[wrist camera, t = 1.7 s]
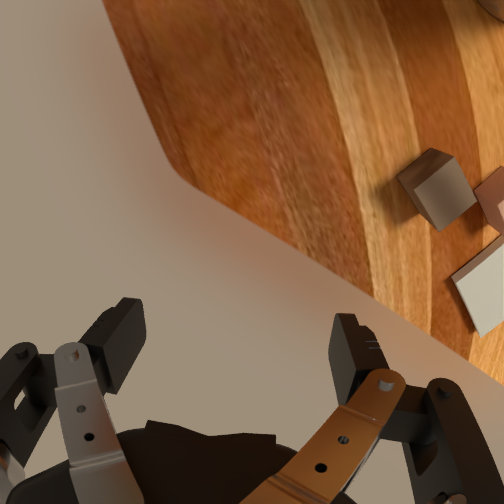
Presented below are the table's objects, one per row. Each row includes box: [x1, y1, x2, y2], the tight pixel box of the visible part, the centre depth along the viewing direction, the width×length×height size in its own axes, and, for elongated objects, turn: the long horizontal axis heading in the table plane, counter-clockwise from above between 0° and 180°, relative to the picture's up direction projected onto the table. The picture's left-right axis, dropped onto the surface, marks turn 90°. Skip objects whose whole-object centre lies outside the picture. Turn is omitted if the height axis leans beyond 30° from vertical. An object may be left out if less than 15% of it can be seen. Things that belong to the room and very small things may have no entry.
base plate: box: [451, 235, 504, 337], centre depth 31 cm, size 12×12×2 cm
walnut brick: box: [396, 148, 477, 232], centre depth 26 cm, size 5×5×5 cm
